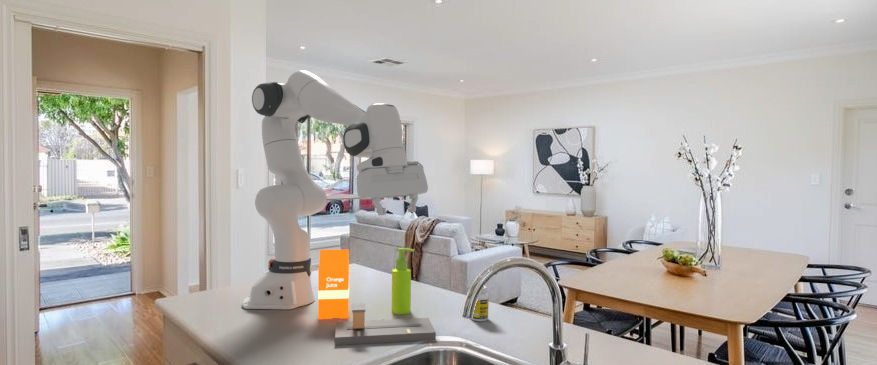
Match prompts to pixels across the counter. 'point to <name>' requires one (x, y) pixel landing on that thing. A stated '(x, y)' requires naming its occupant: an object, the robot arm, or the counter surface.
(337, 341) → the board
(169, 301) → the counter surface
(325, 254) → the orange juice
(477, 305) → the supplement bottle
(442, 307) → the counter surface
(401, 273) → the soap dispenser
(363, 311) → the fader tab
